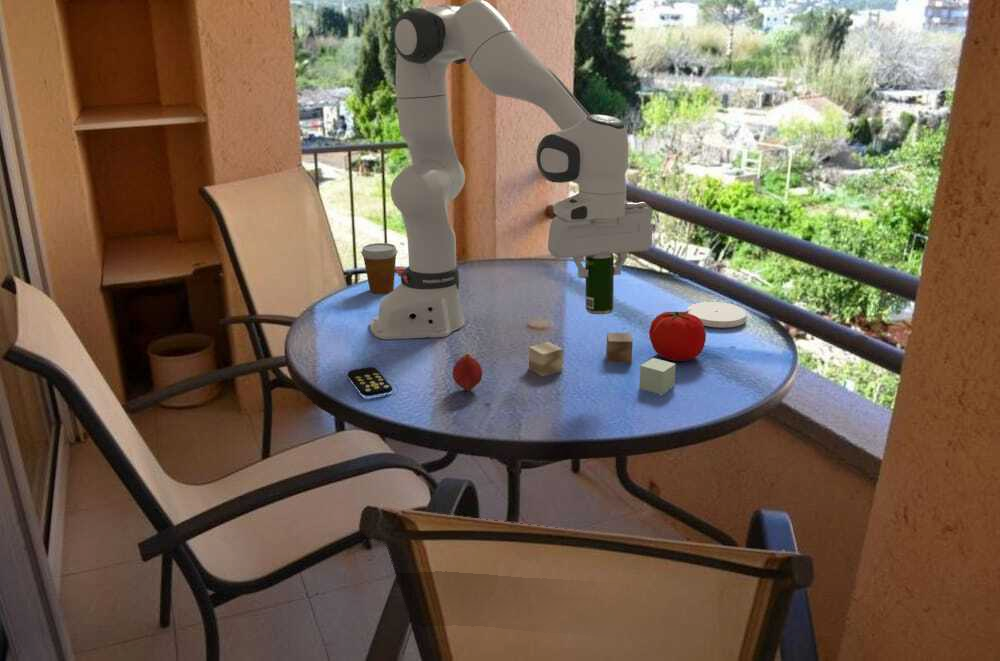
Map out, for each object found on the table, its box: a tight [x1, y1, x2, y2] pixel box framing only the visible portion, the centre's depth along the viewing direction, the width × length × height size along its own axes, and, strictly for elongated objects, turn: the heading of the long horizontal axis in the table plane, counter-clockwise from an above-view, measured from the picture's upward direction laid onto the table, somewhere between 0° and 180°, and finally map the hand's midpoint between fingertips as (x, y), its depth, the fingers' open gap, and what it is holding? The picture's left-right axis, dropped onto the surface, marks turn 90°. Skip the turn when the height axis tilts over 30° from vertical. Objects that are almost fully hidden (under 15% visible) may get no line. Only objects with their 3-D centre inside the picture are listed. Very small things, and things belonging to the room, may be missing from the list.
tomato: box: [648, 309, 707, 362], centre depth 179 cm, size 12×12×10 cm
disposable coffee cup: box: [360, 242, 398, 295], centre depth 224 cm, size 10×10×12 cm
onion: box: [452, 352, 483, 392], centre depth 164 cm, size 6×6×8 cm
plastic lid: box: [686, 301, 748, 329], centre depth 202 cm, size 14×14×2 cm
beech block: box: [528, 341, 564, 377], centre depth 174 cm, size 5×5×5 cm
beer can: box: [584, 252, 615, 315], centre depth 162 cm, size 5×5×12 cm
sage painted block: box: [638, 357, 677, 395], centre depth 165 cm, size 5×5×5 cm
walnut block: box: [605, 332, 633, 364], centre depth 179 cm, size 5×5×5 cm
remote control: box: [347, 366, 393, 396], centre depth 168 cm, size 6×13×2 cm, turn 25°
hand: (599, 275), depth 162 cm, fingers closed on beer can, 5 cm apart
